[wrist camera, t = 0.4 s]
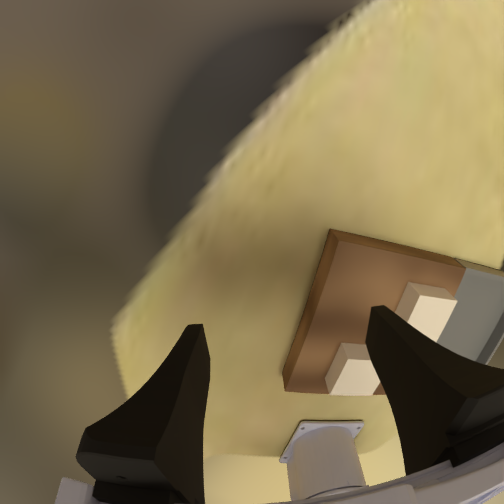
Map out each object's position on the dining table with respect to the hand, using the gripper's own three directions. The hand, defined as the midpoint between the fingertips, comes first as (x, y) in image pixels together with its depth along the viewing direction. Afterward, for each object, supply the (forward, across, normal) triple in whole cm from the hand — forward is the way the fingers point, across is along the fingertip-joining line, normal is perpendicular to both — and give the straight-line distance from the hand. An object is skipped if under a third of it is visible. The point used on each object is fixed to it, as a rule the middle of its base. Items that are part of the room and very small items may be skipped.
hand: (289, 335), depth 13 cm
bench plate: (+10, -8, +8) cm, 15 cm away
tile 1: (+8, -12, +6) cm, 15 cm away
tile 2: (+7, -6, +11) cm, 14 cm away
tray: (+10, -20, +12) cm, 25 cm away
